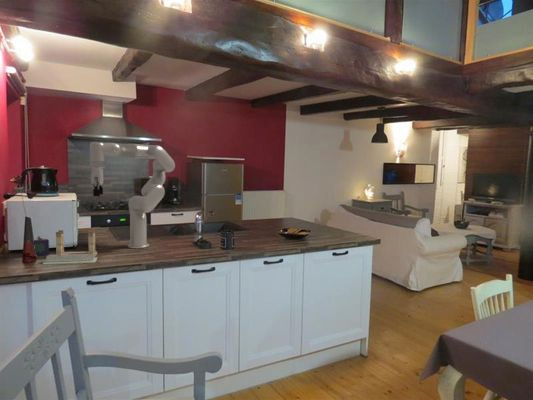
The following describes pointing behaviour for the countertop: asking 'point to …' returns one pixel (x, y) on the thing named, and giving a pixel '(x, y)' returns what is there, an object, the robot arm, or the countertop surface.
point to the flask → (41, 246)
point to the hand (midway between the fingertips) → (98, 195)
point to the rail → (69, 257)
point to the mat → (69, 262)
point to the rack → (61, 251)
